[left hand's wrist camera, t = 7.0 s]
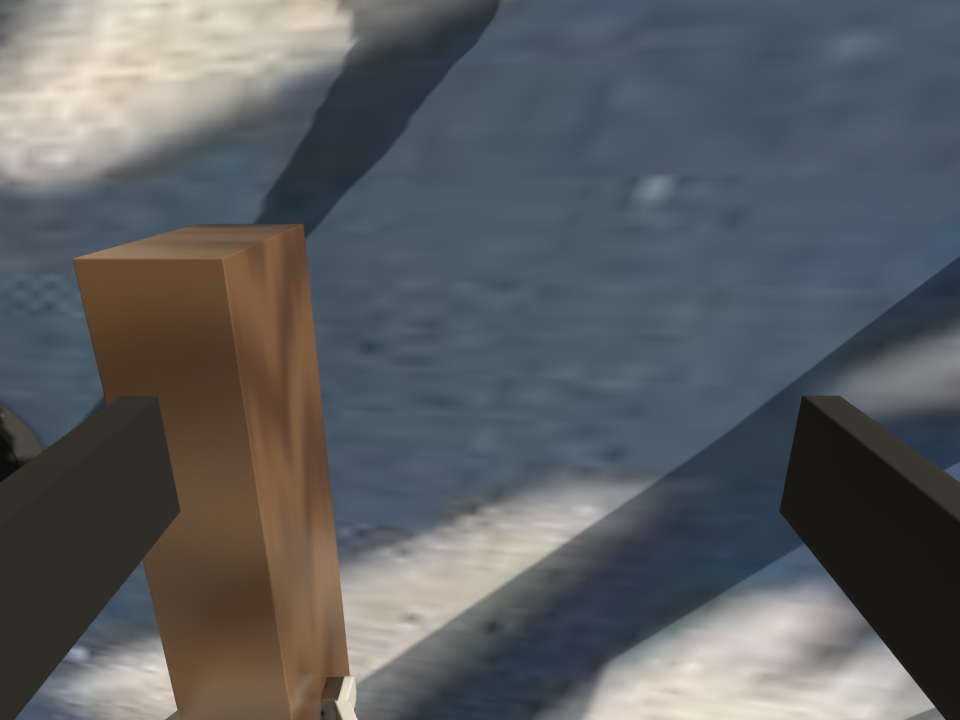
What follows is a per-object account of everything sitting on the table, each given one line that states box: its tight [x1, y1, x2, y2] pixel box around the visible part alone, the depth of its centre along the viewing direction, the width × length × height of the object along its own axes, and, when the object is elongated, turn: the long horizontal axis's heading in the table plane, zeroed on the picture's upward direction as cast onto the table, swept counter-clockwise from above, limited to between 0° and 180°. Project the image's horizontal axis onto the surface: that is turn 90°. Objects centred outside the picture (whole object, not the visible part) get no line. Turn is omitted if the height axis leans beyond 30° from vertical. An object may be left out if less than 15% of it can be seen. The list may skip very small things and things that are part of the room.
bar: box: [73, 224, 350, 720], centre depth 29 cm, size 28×5×9 cm, turn 0°
